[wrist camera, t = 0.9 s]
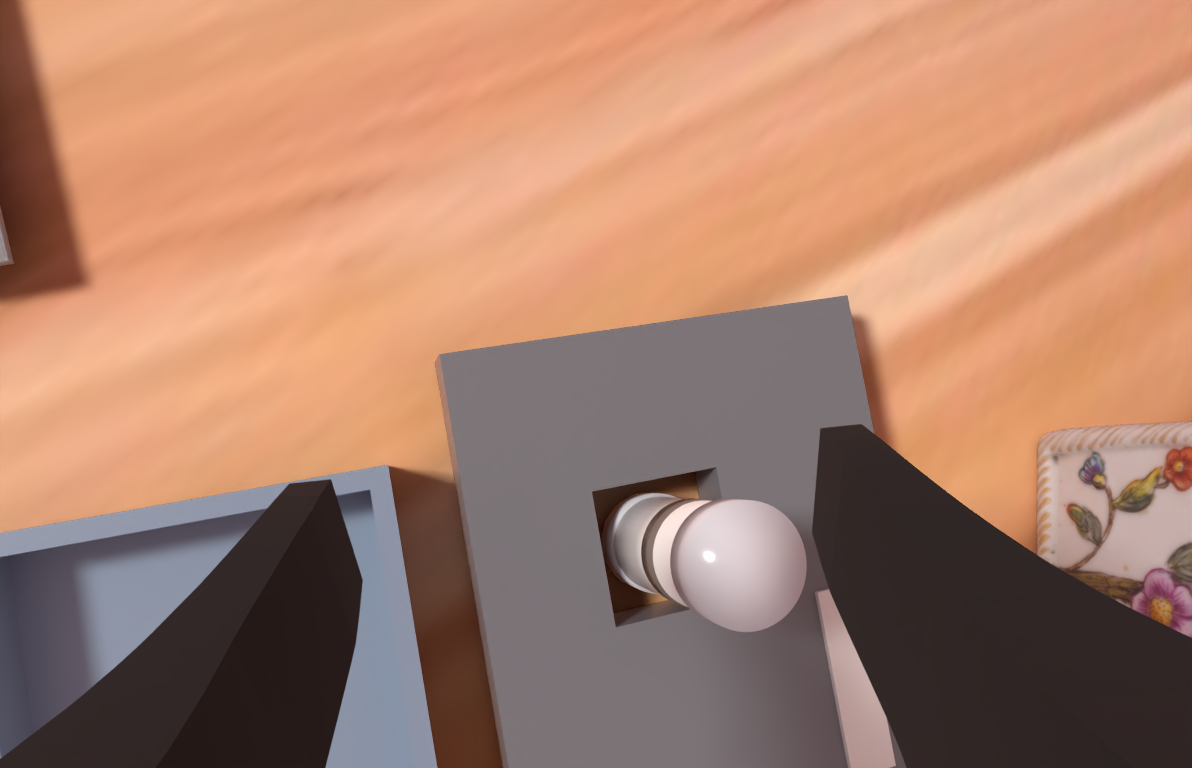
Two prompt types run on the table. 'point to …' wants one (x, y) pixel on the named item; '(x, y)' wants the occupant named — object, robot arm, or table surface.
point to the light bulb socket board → (575, 559)
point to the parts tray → (167, 577)
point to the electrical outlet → (4, 244)
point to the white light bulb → (709, 556)
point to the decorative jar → (1121, 514)
